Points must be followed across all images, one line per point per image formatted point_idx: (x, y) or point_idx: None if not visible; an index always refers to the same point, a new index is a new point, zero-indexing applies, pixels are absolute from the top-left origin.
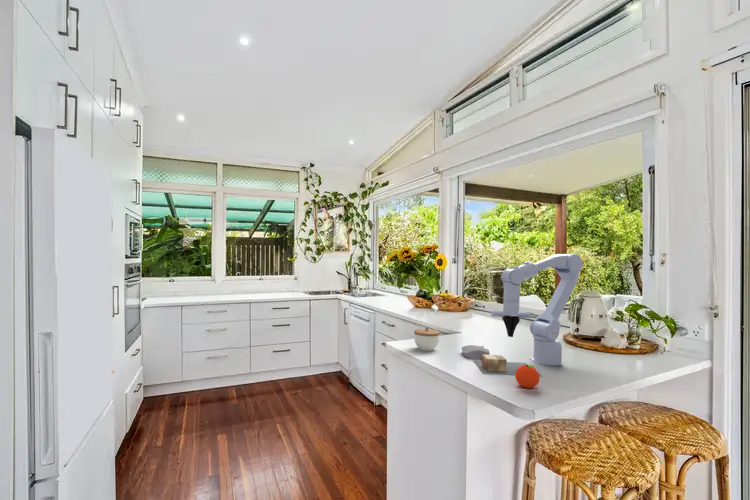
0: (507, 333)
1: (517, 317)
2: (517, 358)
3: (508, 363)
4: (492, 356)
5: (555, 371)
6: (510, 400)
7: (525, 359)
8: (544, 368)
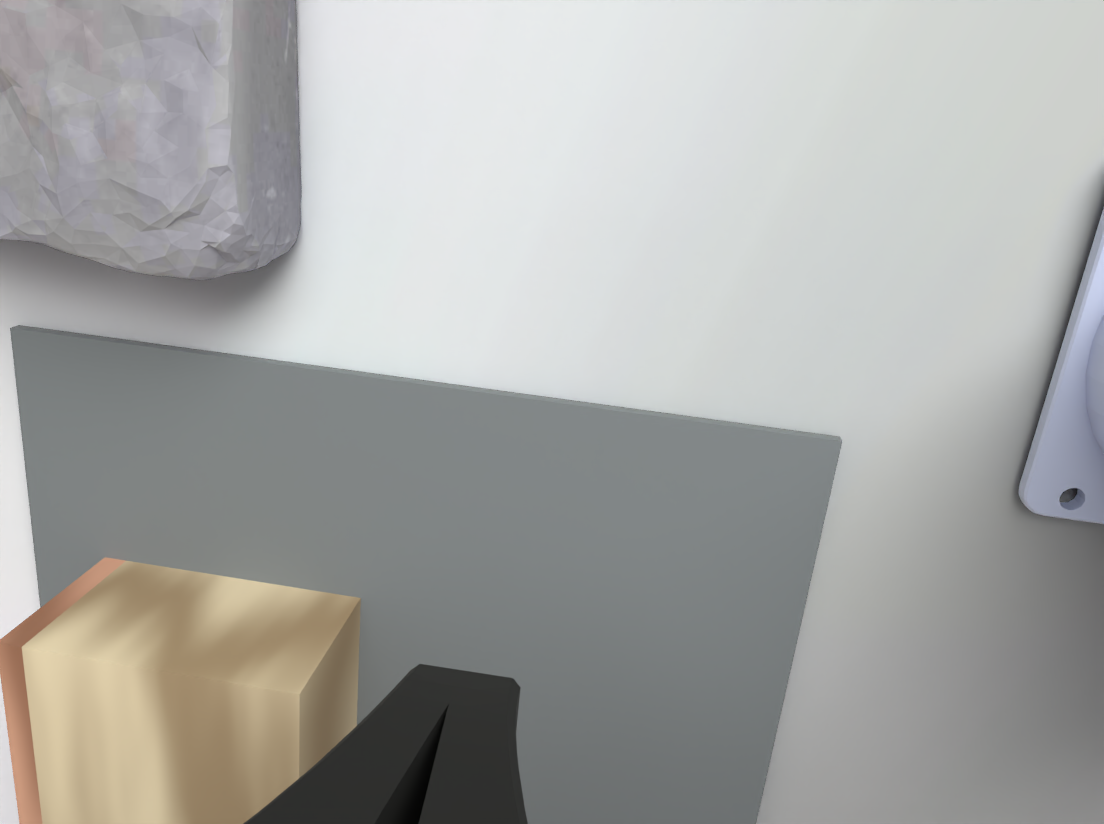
0: (387, 707)
1: None
2: (890, 97)
3: (526, 476)
4: (137, 748)
5: (1071, 785)
6: None
7: (1019, 164)
8: (1001, 663)
